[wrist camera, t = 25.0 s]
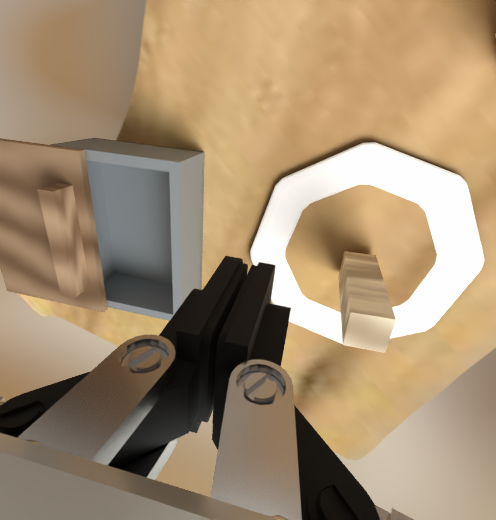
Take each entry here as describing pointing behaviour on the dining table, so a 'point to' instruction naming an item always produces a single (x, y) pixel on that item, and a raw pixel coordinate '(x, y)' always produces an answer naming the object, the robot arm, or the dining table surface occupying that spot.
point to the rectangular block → (364, 303)
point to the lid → (49, 225)
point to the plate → (396, 182)
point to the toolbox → (146, 222)
